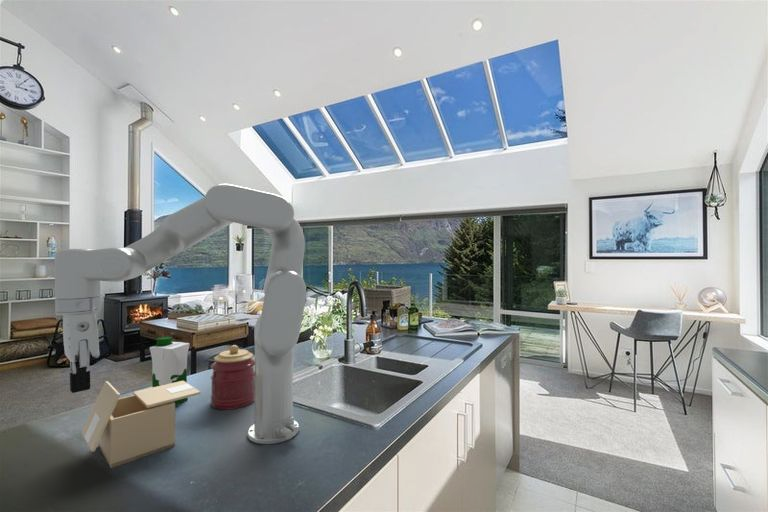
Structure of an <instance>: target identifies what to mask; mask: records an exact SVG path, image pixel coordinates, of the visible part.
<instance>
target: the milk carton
mask: <svg viewBox="0 0 768 512" xmlns="http://www.w3.org/2000/svg"><path fill="white" fill-rule="evenodd" d="M190 345H191V344H190V343H189V342H183V341H173V337H172V336H161V337H157V338H156V344H155V345H153V346H150V347H149V352H150V356H151V360H152V364H151V365H152V369H151V370H152V375H151V376H152V377H151V378H152V379H151V380H152V385H151V388H152V387H157V386H161V385H166V384H170V383H174V382H179V381H185V382H186V383H188V377H187V375H188V371H187V370H188V354H189V348H190ZM188 400H189V397H188V398H184V399H180V400H176V401H173V402H174V403H175V407H177V406H178V405H180V404H182V403H184V402H185V401H186V402H187V401H188Z"/></svg>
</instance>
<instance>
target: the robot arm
mask: <svg viewBox="0 0 768 512" xmlns="http://www.w3.org/2000/svg"><path fill="white" fill-rule="evenodd" d="M233 223H234V224H240V225H245V226H249V227H255V228H261V229H262V230H263V231H265V232H267V234H268V235H269V237H270V239H271V248H270V255H269V261H268V266H267V272H266V277H265V279H264V283H263V294H264V298H263V303H262V308H261V314H260V315H259V316H258V318H257V319H256V321H255V325H254V330H253V332H254V334H253V336H254V338H253V339H254V360H255V365H254V370H255V400H254V413H253V415H254V420H253V421H254V423H253V424H252V425H251V426H250V427H249V428H248V430H247V438H248V439H249V440H250V441H251V442H253V443H256V444H261V445H272V444H273V445H274V444H279V443H282V442H286V441H288V440H291V439H292V438H294V437H295V436H296V435H297V434H298V432H299V431H300V430H299V428H300V427H299V426H300V425H299V423H298V421H296V420H295V417H294V416H293V415H294V414H293V413H294V348H295V347H296V344H297V343H298V340H299V338H300V333H301V327H302V322H303V316H304V311H305V305H306V299H307V287H306V282H305V280H304V278H303V277H302V270H303V265H304V257H305V252H306V251H305V249H306V248H305V247H306V242H305V234H304V232H303V229H302V227H301V225H300V222H299V221H298V220H297V218H296V217H295V211H294V207H293V205H292V203H291V202H290V201H289V200H288V199H287V198H285V197H284V196H282V195H279V194H275V193H271V192H266V191H262V190H257V189H251V188H248V187H243V186H239V185H235V184H231V183H230V184H229V183H220V184H219V183H218V184H215V185H213V186H212V187H210V188H209V189H208V190H207V192H206V193H205V195H204V196H203V197H201V198H199V199H197V200H196V201H194V202H191V203H190V204H189V205H187V206H184V207H183V208H181V209H179V210H177V211H174V212H173V213H171V214H169V215H168V216H167V217H165V218H164V219H163V221H161V223H160V224H159V226H157V227H156V228H155V229H154V230H152V232H150V233H149V234H147V235H146V236H144V237H142V238H140V239H138V240H136V241H134V242H133V243H130V244H129V245H127V246H125V247H107V248H101V249H99V248H98V249H93V248H63V249H59V250H58V251H56V252H55V254H54V261H53V262H54V263H53V264H54V295H55V296H54V304H55V305H54V306H55V309H54V310H55V315H56V316H62V336H63V339H62V340H63V347H64V348H63V350H64V355H65V357H66V358H67V359H68V360H69V362H70V363H69V364H70V365H69V367H70V368H69V369H70V372H69V390H70V392H71V393H72V394H74V393H75V394H76V393H78V392H80V393H81V392H83V391H87V390H90V389H91V370H90V355H91V356H92V358H93V357H94V358H95V359H97V358H99V357H100V342H99V329H98V327H99V326H98V318H97V314H96V313H98V312H100V311H102V310H101V308H102V306H101V282H111V283H115V282H116V283H117V282H118V283H119V282H120V283H121V282H124V281H128V280H132V279H133V280H134V279H135V278H138V277H140V276H142V275H143V274H145V273H147V272H149V271H151V270H152V269H155V267H158V266H159V265H161V264H163V263H164V262H166V261H168V260H170V259H172V258H173V257H175V256H176V255H178V254H180V253H183V252H184V251H187V250H189V248H191V247H193V246H195V245H197V244H198V243H200V242H201V241H204V240H205V239H207V238H208V237H210V236H212V235H214V234H215V233H217V232H219V231H221V230H223V229H224V228H226V227H229V226H230V225H231V224H233Z"/></svg>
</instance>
